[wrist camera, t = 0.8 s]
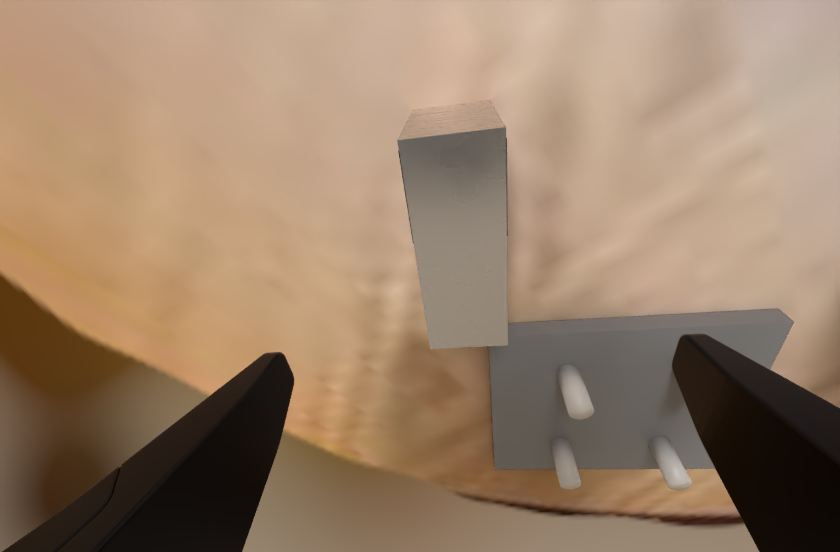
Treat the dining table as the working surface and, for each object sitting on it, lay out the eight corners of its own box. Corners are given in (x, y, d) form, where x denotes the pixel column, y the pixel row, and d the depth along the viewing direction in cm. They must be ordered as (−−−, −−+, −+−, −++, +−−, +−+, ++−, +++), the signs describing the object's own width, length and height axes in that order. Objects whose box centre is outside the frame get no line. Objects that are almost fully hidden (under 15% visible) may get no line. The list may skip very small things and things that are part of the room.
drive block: (490, 99, 14) (506, 126, 10) (495, 275, 19) (508, 345, 14) (412, 109, 15) (396, 140, 11) (434, 279, 19) (429, 349, 15)
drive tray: (778, 308, 18) (840, 361, 15) (710, 453, 25) (745, 510, 22) (487, 324, 20) (493, 374, 17) (493, 455, 27) (498, 508, 24)
